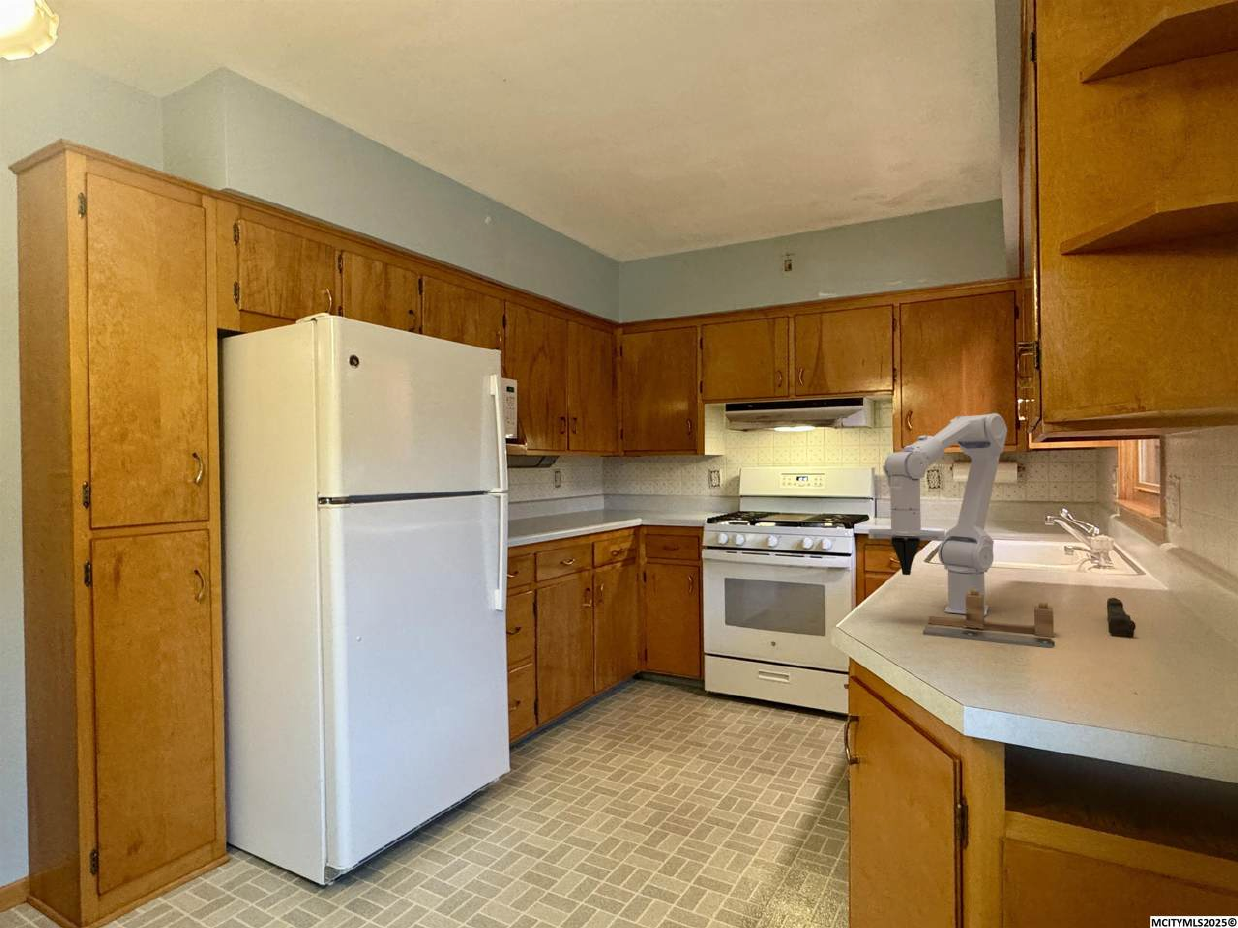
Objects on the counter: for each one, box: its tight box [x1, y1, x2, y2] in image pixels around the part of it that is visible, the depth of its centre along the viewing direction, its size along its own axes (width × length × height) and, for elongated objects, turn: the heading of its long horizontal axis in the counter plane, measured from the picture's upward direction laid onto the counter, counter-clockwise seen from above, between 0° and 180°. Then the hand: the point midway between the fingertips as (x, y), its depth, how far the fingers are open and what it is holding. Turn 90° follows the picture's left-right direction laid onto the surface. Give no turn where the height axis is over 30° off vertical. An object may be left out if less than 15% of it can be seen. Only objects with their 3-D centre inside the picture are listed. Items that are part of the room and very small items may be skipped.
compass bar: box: [927, 601, 1055, 638], centre depth 131 cm, size 4×22×6 cm, turn 59°
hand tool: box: [1106, 597, 1137, 639], centre depth 131 cm, size 19×4×5 cm, turn 145°
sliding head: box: [965, 589, 985, 630], centre depth 132 cm, size 4×3×7 cm
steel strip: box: [922, 625, 1056, 649], centre depth 124 cm, size 4×21×1 cm, turn 59°
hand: (906, 574), depth 138 cm, fingers closed
